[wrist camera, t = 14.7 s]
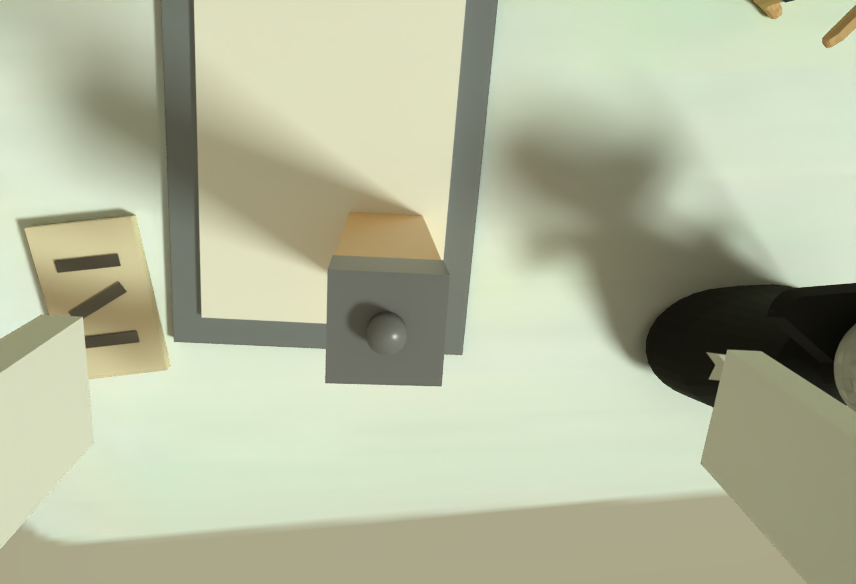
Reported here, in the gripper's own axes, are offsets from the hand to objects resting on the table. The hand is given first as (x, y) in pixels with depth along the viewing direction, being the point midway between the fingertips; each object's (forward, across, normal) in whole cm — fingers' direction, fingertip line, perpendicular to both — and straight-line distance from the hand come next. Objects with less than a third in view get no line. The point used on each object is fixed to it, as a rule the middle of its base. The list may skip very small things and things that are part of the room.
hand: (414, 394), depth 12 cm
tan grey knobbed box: (+18, -1, -1) cm, 18 cm away
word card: (+19, -15, -5) cm, 24 cm away
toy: (+19, +19, -4) cm, 28 cm away
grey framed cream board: (+19, -4, +3) cm, 20 cm away
